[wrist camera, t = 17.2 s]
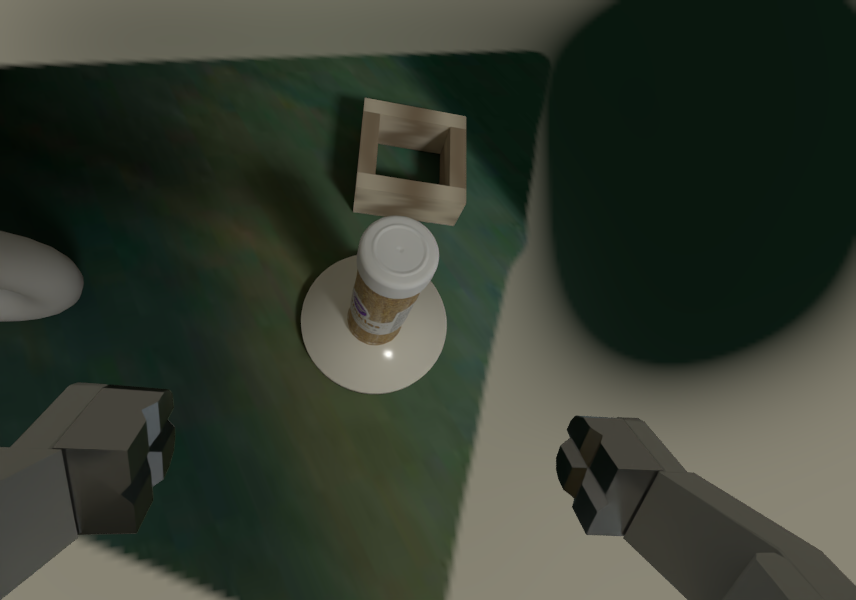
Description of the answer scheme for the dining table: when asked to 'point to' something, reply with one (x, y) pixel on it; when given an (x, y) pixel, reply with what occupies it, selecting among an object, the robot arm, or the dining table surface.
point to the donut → (35, 279)
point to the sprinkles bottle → (390, 277)
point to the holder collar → (414, 133)
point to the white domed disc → (362, 362)
